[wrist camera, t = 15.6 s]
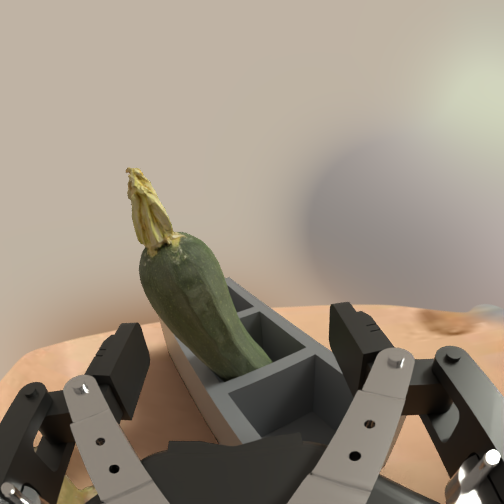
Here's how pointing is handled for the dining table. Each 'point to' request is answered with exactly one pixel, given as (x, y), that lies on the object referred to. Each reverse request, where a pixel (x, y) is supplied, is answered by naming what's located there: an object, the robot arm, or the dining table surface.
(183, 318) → the vegetable
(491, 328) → the dining table surface
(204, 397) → the compartment organizer
